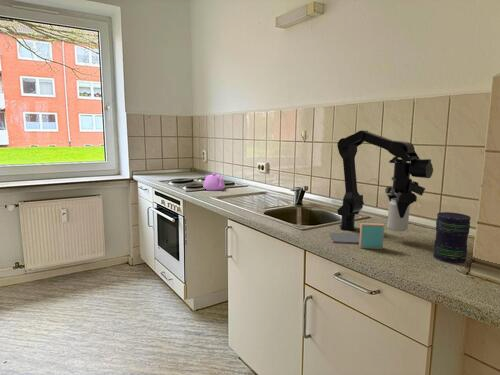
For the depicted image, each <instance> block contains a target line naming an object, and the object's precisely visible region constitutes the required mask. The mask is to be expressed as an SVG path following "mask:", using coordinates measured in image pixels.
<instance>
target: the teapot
mask: <svg viewBox="0 0 500 375" xmlns="http://www.w3.org/2000/svg"><path fill="white" fill-rule="evenodd" d="M223 178H224V177H223V176H221V175H220V174H217V172H212V173H211V174H205V175H204V181H203V184H202V186H203V188H204V190H205V189H206V191H209V192H211V191H213V192H216V191H218V192H219V191H222V190H224V189H225V188H226V187H225V186H226V185H225V181H224V179H223Z"/></svg>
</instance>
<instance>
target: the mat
mask: <svg viewBox="0 0 500 375" xmlns="http://www.w3.org/2000/svg"><path fill="white" fill-rule="evenodd" d="M329 235H330V238H331V241H332V242H333V244H334V243H335V244H352V245H353V244H357V245H359V240H360V233H354V232H353V233H352V232H350V233H349V232H329Z"/></svg>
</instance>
